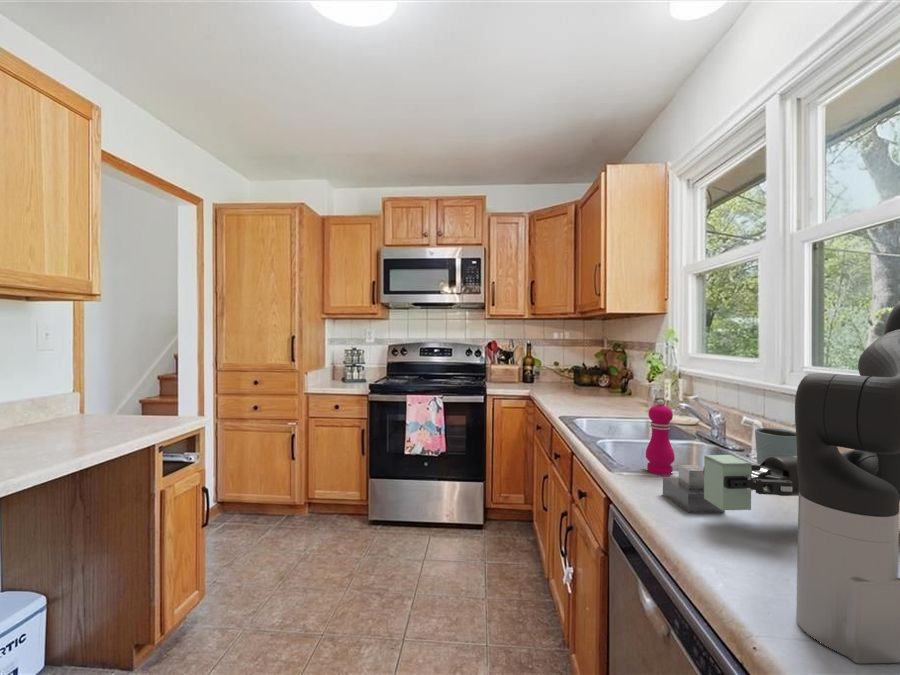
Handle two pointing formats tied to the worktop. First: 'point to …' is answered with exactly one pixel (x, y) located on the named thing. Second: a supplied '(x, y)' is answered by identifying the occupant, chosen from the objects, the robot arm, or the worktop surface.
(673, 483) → the grey step block
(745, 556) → the worktop surface
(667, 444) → the pepper mill
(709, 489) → the tall mint pillar
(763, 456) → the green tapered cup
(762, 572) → the worktop surface
